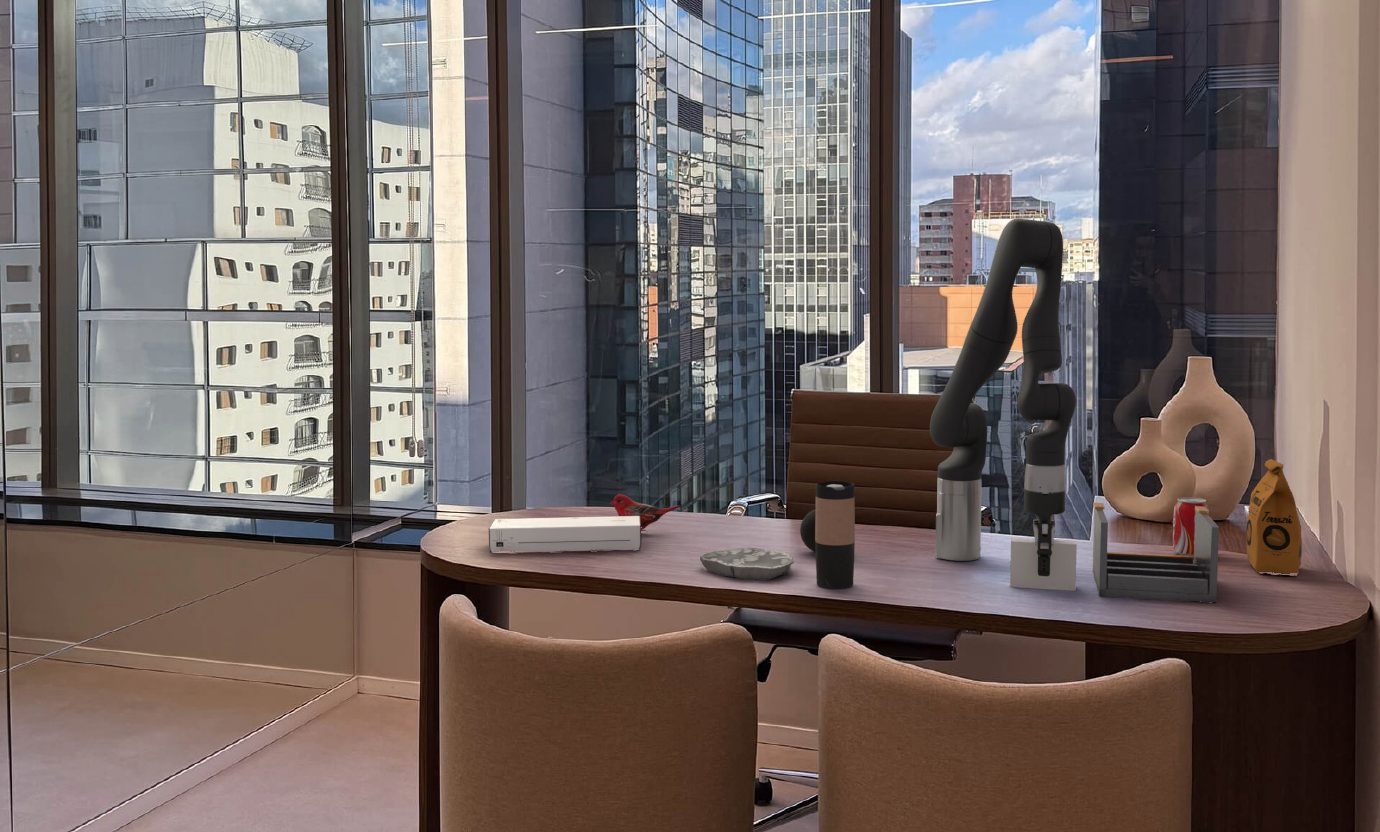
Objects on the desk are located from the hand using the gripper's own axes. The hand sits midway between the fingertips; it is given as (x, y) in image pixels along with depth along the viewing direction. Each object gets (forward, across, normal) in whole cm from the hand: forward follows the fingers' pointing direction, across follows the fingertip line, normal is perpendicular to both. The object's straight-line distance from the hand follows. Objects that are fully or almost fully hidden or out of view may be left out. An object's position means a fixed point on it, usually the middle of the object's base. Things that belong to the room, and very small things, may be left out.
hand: (1043, 570), depth 216 cm
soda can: (+3, -36, +31) cm, 48 cm away
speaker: (+3, -19, -46) cm, 50 cm away
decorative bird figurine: (+3, -30, -91) cm, 96 cm away
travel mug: (+3, +8, -39) cm, 40 cm away
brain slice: (+4, 0, -58) cm, 58 cm away
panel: (+3, 0, 0) cm, 3 cm away
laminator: (+4, -11, -104) cm, 105 cm away
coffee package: (+4, -25, +45) cm, 52 cm away
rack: (+3, -5, +20) cm, 21 cm away
